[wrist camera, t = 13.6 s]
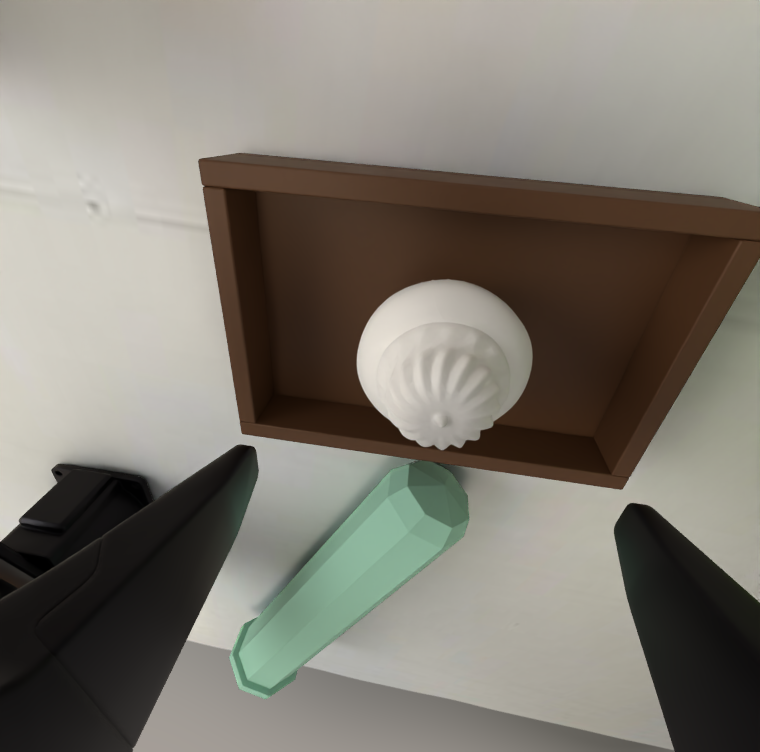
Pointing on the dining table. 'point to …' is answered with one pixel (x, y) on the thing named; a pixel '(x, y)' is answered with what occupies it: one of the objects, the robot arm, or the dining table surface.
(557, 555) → the dining table surface
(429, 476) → the container
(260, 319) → the tray
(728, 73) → the dining table surface
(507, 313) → the white rounded ribbed piece
